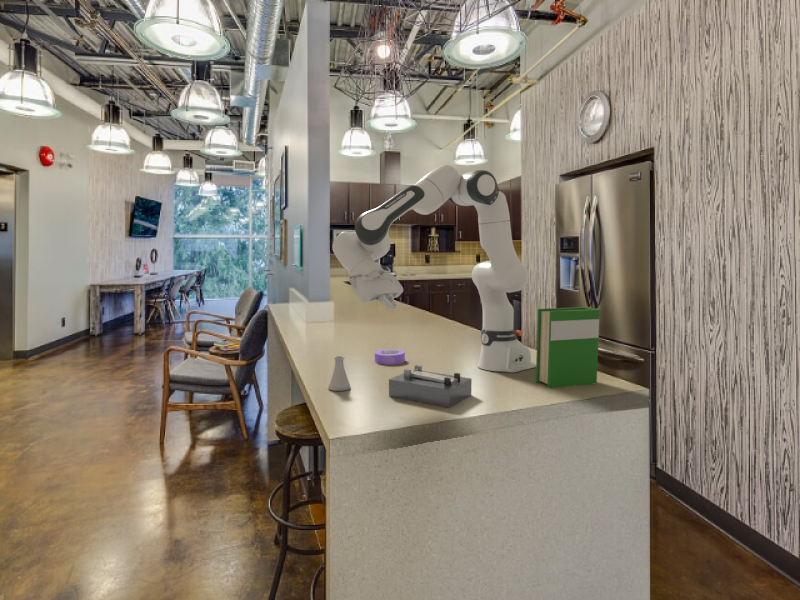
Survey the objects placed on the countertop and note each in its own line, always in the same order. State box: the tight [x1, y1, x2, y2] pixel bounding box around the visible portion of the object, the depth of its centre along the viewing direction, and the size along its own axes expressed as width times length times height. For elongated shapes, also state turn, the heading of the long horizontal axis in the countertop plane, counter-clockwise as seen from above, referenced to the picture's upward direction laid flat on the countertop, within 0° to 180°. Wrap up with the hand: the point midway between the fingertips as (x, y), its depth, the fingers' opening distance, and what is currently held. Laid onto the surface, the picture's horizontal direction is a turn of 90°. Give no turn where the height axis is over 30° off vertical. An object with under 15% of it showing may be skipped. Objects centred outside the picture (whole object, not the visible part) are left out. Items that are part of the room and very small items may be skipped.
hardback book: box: [535, 306, 601, 389], centre depth 154 cm, size 18×7×24 cm, turn 107°
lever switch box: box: [388, 364, 472, 409], centre depth 141 cm, size 20×14×8 cm
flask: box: [327, 355, 351, 392], centre depth 148 cm, size 7×7×10 cm
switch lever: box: [411, 369, 458, 384], centre depth 140 cm, size 15×4×1 cm, turn 57°
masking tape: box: [374, 348, 406, 366], centre depth 186 cm, size 12×12×4 cm
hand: (393, 307), depth 145 cm, fingers closed
